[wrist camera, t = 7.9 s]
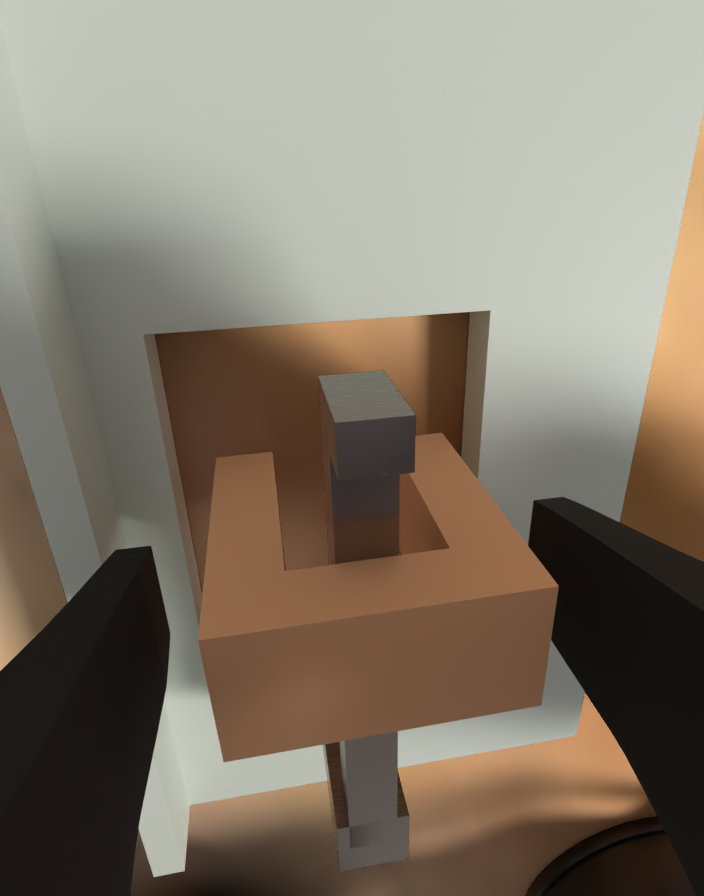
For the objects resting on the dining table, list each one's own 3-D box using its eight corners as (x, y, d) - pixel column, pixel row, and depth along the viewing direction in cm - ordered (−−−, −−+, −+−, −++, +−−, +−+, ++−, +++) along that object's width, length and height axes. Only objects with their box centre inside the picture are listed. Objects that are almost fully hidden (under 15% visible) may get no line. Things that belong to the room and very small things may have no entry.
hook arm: (351, 307, 13) (435, 413, 7) (361, 665, 17) (418, 900, 12) (282, 311, 12) (314, 424, 7) (312, 672, 17) (346, 915, 12)
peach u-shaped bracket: (441, 432, 13) (558, 585, 8) (439, 522, 14) (541, 705, 9) (215, 457, 12) (197, 641, 7) (231, 549, 13) (223, 762, 9)
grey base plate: (714, -176, 10) (883, -300, 7) (557, 705, 20) (606, 788, 17) (-91, -220, 8) (-248, -404, 6) (167, 772, 18) (153, 877, 15)
